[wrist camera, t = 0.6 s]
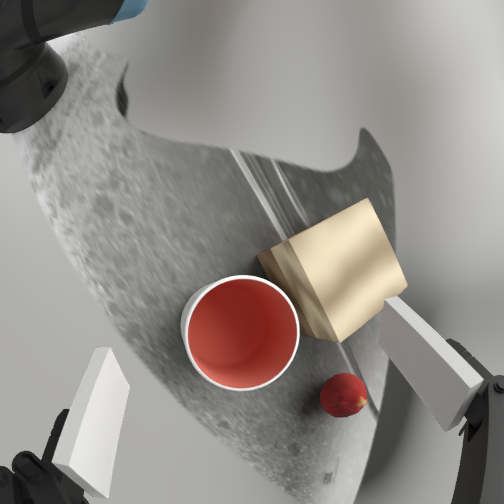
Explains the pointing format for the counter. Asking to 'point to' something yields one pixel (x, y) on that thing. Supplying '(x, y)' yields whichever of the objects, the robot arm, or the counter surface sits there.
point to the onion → (343, 395)
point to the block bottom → (284, 285)
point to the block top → (341, 271)
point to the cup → (240, 332)
